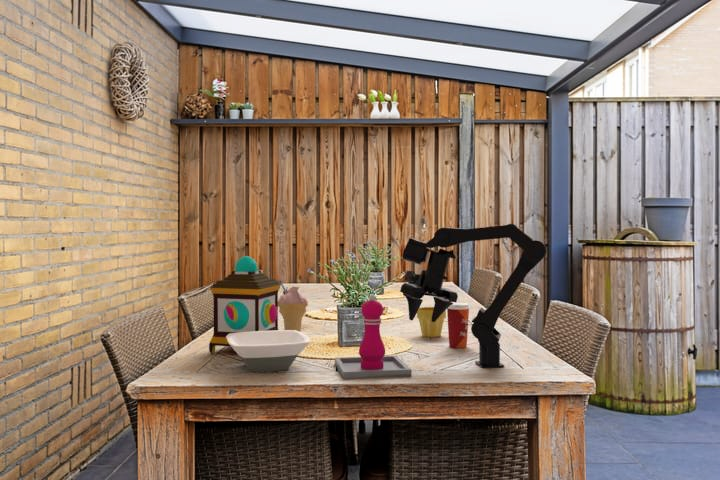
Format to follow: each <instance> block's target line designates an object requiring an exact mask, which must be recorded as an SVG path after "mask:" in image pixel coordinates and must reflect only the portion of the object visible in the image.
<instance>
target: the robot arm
mask: <svg viewBox="0 0 720 480" xmlns="http://www.w3.org/2000/svg"><path fill="white" fill-rule="evenodd" d="M497 239H510V240H511V241H512V242H513V243H515V244H516V245H517V246H518V247H519V248H520V249H522V250H523V252H521V256H520V258H519V260H518V263H517V265H516V266H515V268H514V270H512V272H511V274H510V275H509V276H508V278H507V280H506V282H505V283H504V285H502V287H501V289H500V290H499V292H498V293H497V294H496V296H495V297H494V299H493V300H492V302H491V303H490V305H489V306H487V307H486V309H484V308H483V307H480V308H479V310H478V312H477V314H476V316H474V317H473V318H472V320H471V323H472V325H471V327H470V329H471V334H472V336H473V337H475V338H476V339H477V341H478V344H479V346H478V347H479V348H478V349H479V350H478V351H479V352H478V354H479V355H478V357H479V358H478V359H479V360H475V361H474V363H475V364H476V365H478V366H479V367H480V368H503V367H505V364H503V363H502V362H501V344H500V343H499V341H500V339H501V337H502V334H501V333H500V332H499V330H497V328H496V327H495V326H496V324H497V322H498V320H499V317H500V315H501V313H502V312H503V310H504V309H505V307H506V306H507V305H508V303H509V302H510V300H511V299H512V297H513V296H514V294H515V293H516V292H517V290H518V288H519V287H520V286H521V284H522V282H524V279H525V278H526V276H528V274H529V273H530V271H532V270H533V269H534V268H536V266H537V265H538V264H539V263H540V262H541V261H542V260H543V259H544V258H545V256H546V254H547V247H546V245H545V243H544V242H543V241H542V240H538V239H533V238H532V237H530V236H529V235H527V233H525V232H524V231H523V230H521V229H520V228H518V226H517V225H516V224H514V223H508V224H504V225H494V226H484V227H474V228H459V227H440V228H438V229H437V230H436V231H435V233H434V235H433V237H432V238H431V239H429V240H427V242H424V241H422V240H421V241H420V240H417V239H416V238H414V237H409V238H408V241H407V243H406V245H405V248H404V249H403V252H402V260H403V261H406V262H410V263H414V264H416V265H419V266H421V265H423V263H424V264H426V263H427V265H426V268H425V269H422V270H421V271H420V274H418V273H416V272H415V271H413V270H406V273H405V274H404V283H402V284H401V287H400V290H399V292H401V293H402V296H404V297H405V298H406V300H407V305H408V319H409V321H413V320H414V319H415V317H416V316H417V311H418V309H419V308H421V305H422V303H423V301H424V300H423V299H422V298H424V296H429V297H433V302H434V306H433V307H434V309H433V314H432V319H431V321H432V322H435V321H436V320H437V319H438V318H439V317H440V315H441V314H442V313H443V312H444V311H445V310H446V311H447V308H448V307H449V306H450V305H453V303H458V302H457V300H458V298H459V296H458V292H456V291H454V290H452V289H449V288H446V287H443V284H444V281H446V280H447V281H448V278H449V276H447V275H446V273H447V270H448V265H449V262H450V259H458V255H457V254H456V252H455V249H451V250H447V249H444V248H448V247H453V246H457V245H461V244H464V243H467V242H476V241H486V240H487V241H488V240H497ZM438 247H439V250H438V251H437V250H434V249H433V248H438Z"/></svg>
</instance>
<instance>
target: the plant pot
mask: <svg viewBox="0 0 720 480" xmlns="http://www.w3.org/2000/svg"><path fill="white" fill-rule="evenodd" d="M433 309H434V306H423V307H421V306H420V307H419V309H418V311H417V313H416V318H417V319H418V321H419V327H420V330H421V335H422V336H423V337H426V338H439V337H441V336H442V333H443V332H442V330H443V324H444V320H445V319H446V317H447V309H446V310H445V311H444V312H443V313H442V314H441V315H440V317H439V318H438V319H437V320H436V321H435V322H432V321H431V319H432V314H433Z"/></svg>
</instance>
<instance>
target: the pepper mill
mask: <svg viewBox="0 0 720 480" xmlns="http://www.w3.org/2000/svg"><path fill="white" fill-rule="evenodd" d="M360 310H361V314H362V316H363V318H362V323H363V325H364V333H363V337H362V340H361V342H360V345H359V347H358V355H359V357H361V358H362V359H363V360H362V361H361V368H362V369H366V370H379V369H382V368H383V361H382V360H381V359H382V358H383V357H384V356H386V355H385V354H386V347H385V345H384V342H383V339H382V337H381V333H380V327H381V326H380V325H381V324H382V318H381V317H382V315H383V314H384V307H383V304H382V303H381V302H380V301H377V300H376V296H375V295H374V294H371V295H369V296H368V300H367V301H365V302H364V303H363V304H362V306H361V308H360Z"/></svg>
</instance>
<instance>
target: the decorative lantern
mask: <svg viewBox="0 0 720 480" xmlns="http://www.w3.org/2000/svg"><path fill="white" fill-rule="evenodd" d="M281 287H282V286H281V284H280V282H279V280H276V279H275V278H273V277H269V276H268V275H265V273H263V272H262V271H261V270H259V269H258V263H257V261H255V259H254V258H252V257H251V256H248V255H244V256H242V257H241V258H239V259H238V261H236V262H235V267H234V270H233V271H231V273H230V274H228V275H227V276H226V277H224V278H223V279H220V280H217V281H216V282H215V283H212V285H211V286H210V287H209V290H210V292H211V294H212V297H213V333H212V337H211V339H210V341H209V344H208V349H209V351H208V352H209V353H210V355H213V354H215V351H216V346H218V347H231V346H230V345H229V343H228V341H227V338H226V336H227V335H228V334H229V333H238V332H252V331H274V330H279V314H278V313H279V306H278V301H279V298H278V297H279V296H278V294H279V290H280V288H281Z"/></svg>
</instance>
